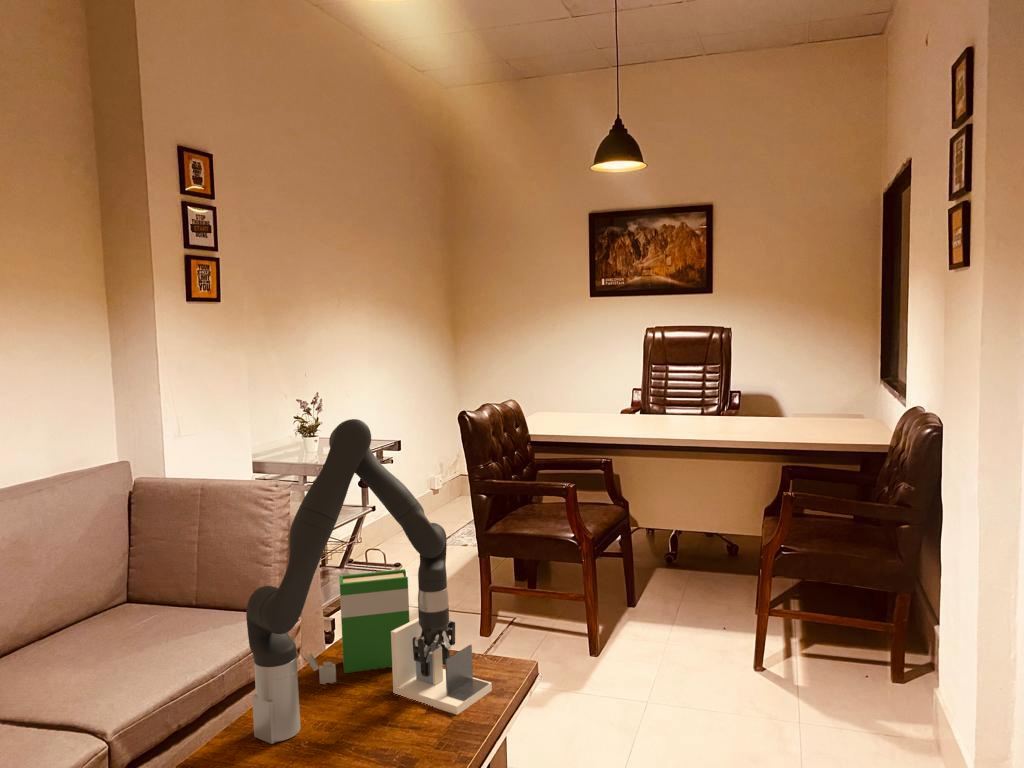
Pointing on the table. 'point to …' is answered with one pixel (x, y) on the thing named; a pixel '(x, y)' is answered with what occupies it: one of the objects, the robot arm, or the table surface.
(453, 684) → the bookend
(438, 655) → the small book
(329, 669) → the lighter
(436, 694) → the shelf
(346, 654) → the hardback book
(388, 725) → the table surface
